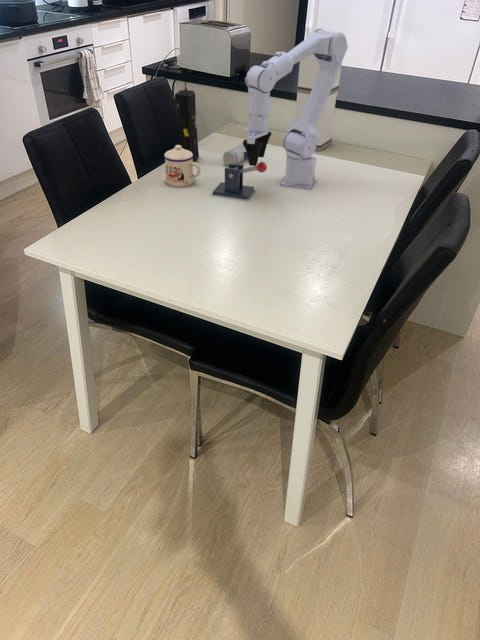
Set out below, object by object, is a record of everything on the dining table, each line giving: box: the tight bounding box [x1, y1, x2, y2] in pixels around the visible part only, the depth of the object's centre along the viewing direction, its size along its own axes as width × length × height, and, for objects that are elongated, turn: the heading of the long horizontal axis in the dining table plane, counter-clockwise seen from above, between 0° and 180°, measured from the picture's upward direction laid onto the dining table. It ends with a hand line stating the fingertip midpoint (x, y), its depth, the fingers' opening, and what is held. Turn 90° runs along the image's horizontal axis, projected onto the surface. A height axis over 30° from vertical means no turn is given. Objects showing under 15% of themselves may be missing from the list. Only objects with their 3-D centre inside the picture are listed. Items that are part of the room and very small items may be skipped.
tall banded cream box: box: [294, 54, 343, 152], centre depth 187 cm, size 11×11×35 cm
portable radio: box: [174, 82, 200, 163], centre depth 172 cm, size 8×6×25 cm
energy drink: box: [222, 143, 248, 167], centre depth 178 cm, size 5×5×12 cm
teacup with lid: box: [163, 144, 201, 187], centre depth 160 cm, size 12×9×12 cm
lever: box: [232, 161, 268, 174], centre depth 152 cm, size 12×3×3 cm, turn 72°
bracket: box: [212, 163, 255, 200], centre depth 156 cm, size 11×8×8 cm
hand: (256, 161), depth 152 cm, fingers open, 7 cm apart
